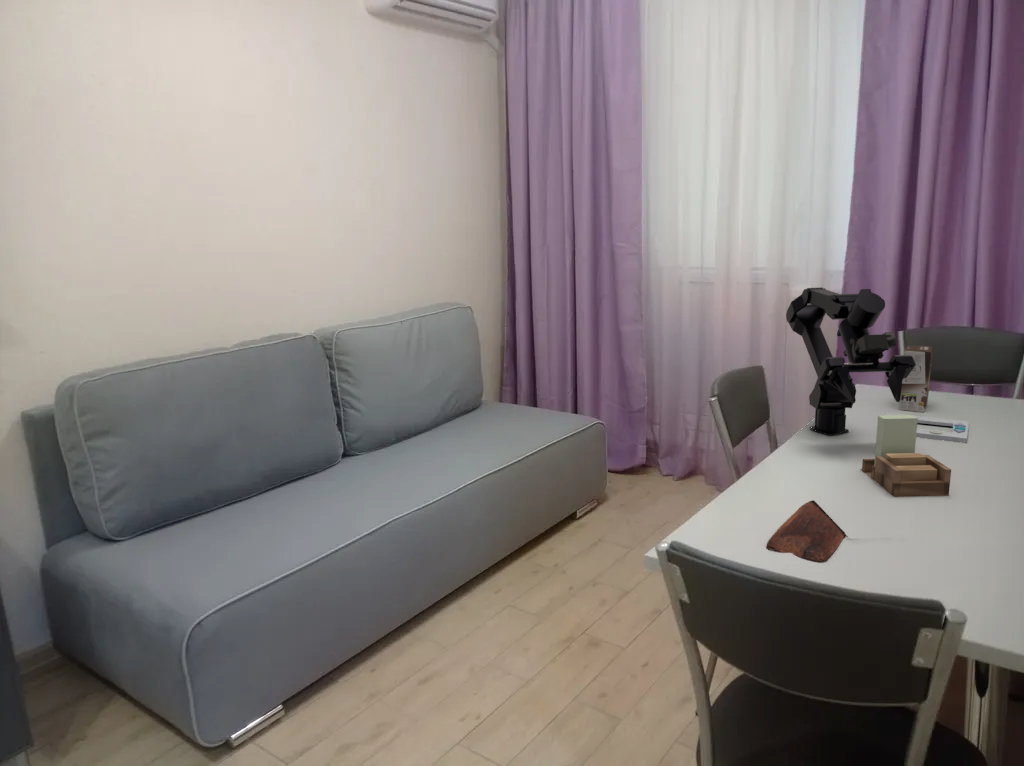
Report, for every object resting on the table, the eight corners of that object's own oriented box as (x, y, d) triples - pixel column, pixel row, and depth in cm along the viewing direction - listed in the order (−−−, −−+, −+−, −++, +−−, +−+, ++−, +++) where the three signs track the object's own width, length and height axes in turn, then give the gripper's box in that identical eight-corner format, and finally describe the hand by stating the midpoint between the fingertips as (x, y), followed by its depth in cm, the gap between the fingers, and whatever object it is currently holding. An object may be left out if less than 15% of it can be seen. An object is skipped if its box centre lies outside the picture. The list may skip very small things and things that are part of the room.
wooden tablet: (808, 492, 142) (864, 496, 136) (809, 503, 143) (865, 508, 136) (761, 544, 122) (825, 552, 116) (762, 557, 122) (826, 566, 116)
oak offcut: (883, 480, 146) (885, 453, 145) (916, 479, 146) (919, 452, 145) (889, 484, 144) (891, 457, 143) (923, 484, 144) (926, 457, 142)
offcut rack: (859, 473, 153) (861, 445, 152) (909, 472, 153) (911, 444, 151) (894, 501, 138) (896, 471, 137) (948, 500, 138) (952, 470, 137)
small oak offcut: (893, 488, 142) (895, 466, 141) (928, 487, 142) (930, 465, 141) (899, 493, 140) (901, 470, 139) (935, 492, 140) (937, 469, 139)
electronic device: (969, 419, 181) (967, 436, 169) (968, 428, 182) (966, 446, 170) (886, 411, 191) (878, 426, 179) (885, 419, 191) (877, 435, 179)
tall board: (873, 472, 151) (878, 415, 148) (906, 471, 150) (911, 414, 148) (879, 477, 148) (883, 419, 145) (912, 476, 148) (917, 418, 145)
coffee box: (925, 412, 194) (931, 351, 190) (898, 409, 197) (903, 350, 194) (928, 404, 202) (933, 345, 198) (901, 401, 205) (906, 344, 201)
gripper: (825, 320, 158) (844, 382, 150) (915, 317, 158) (938, 379, 149) (810, 350, 168) (826, 410, 159) (894, 347, 167) (915, 408, 159)
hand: (876, 401), depth 156 cm, fingers open, 9 cm apart
